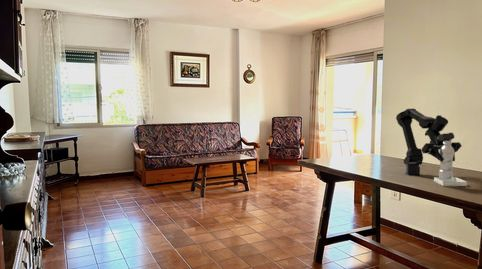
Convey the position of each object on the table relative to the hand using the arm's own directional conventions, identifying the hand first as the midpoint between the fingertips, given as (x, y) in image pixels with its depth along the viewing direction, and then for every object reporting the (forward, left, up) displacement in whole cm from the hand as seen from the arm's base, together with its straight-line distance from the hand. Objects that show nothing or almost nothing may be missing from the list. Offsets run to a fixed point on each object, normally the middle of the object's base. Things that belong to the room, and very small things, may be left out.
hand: (448, 161), depth 176 cm
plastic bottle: (0, +1, -10) cm, 10 cm away
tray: (+4, +6, -13) cm, 15 cm away
